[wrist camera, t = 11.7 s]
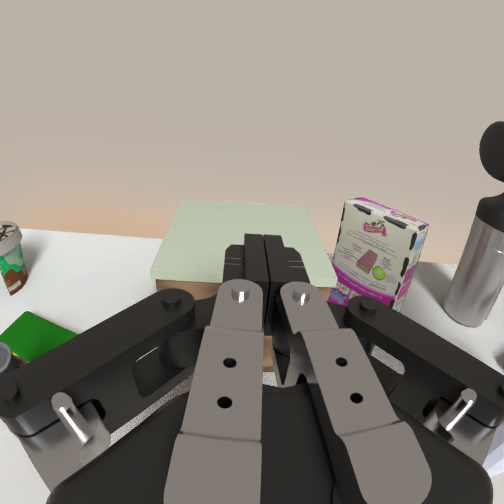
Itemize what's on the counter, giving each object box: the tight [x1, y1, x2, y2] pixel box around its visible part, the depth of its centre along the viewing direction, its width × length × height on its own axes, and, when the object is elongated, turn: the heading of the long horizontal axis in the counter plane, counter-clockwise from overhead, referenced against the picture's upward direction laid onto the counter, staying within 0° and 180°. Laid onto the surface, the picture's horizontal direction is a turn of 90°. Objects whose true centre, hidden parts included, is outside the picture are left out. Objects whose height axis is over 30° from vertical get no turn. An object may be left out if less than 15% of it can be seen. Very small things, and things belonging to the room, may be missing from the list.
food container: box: [0, 221, 27, 296], centre depth 40 cm, size 12×6×10 cm, turn 54°
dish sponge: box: [0, 311, 78, 363], centre depth 30 cm, size 7×14×2 cm, turn 78°
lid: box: [150, 200, 338, 287], centre depth 33 cm, size 17×17×1 cm
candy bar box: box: [328, 198, 429, 312], centre depth 39 cm, size 11×5×16 cm, turn 38°
